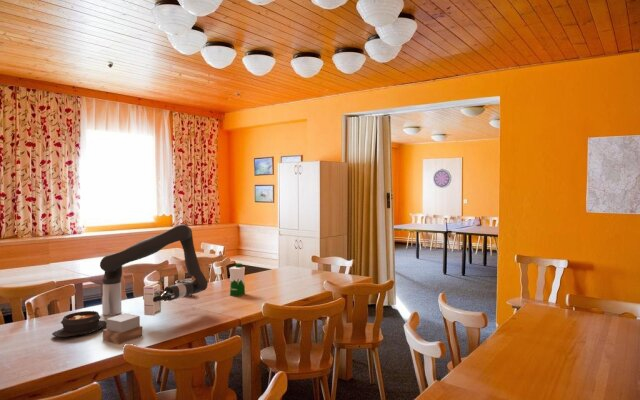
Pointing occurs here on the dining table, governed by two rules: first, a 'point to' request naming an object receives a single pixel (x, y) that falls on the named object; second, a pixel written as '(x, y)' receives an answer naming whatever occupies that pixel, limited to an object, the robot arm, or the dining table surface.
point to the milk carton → (237, 280)
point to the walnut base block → (122, 335)
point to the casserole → (80, 324)
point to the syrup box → (151, 299)
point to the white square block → (123, 322)
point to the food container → (184, 282)
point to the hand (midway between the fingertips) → (148, 298)
